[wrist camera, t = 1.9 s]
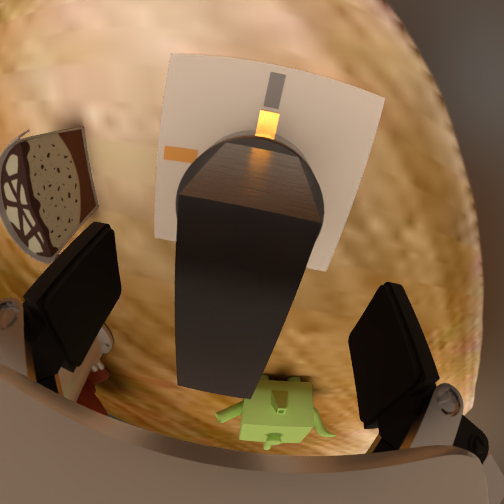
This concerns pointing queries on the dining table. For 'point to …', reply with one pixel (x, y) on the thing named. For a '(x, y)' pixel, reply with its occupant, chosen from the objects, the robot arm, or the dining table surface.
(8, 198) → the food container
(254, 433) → the kettle
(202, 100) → the post base
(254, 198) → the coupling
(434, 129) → the dining table surface
